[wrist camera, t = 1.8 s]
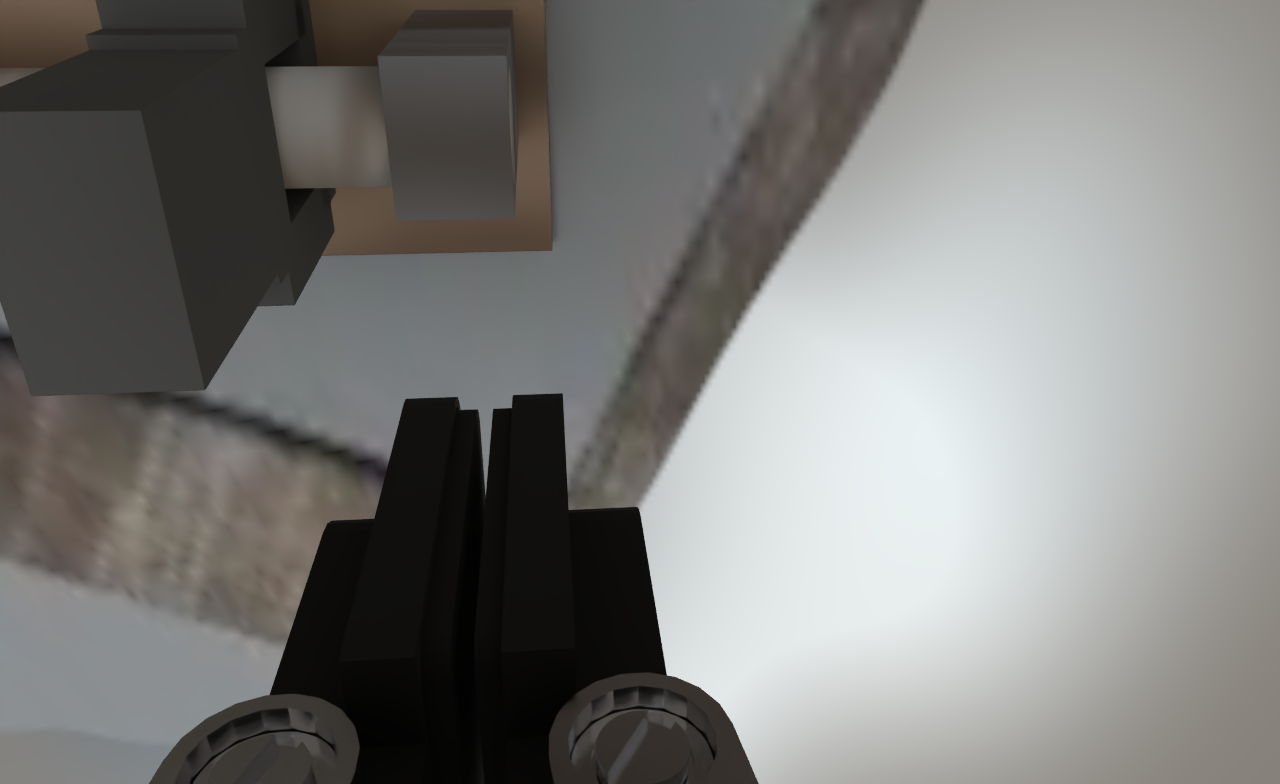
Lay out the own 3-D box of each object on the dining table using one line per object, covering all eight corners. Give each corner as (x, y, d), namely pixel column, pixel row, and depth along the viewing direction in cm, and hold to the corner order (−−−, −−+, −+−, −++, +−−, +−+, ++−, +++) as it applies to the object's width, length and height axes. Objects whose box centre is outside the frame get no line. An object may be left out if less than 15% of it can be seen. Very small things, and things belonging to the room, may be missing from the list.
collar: (187, -43, 26) (-89, 30, 14) (302, -42, 26) (121, 29, 15) (239, 223, 29) (50, 453, 18) (339, 221, 30) (218, 446, 18)
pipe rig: (-551, -150, 27) (-1049, -158, 18) (539, -135, 29) (542, -136, 21) (-346, 260, 32) (-653, 398, 24) (551, 240, 35) (558, 357, 27)
